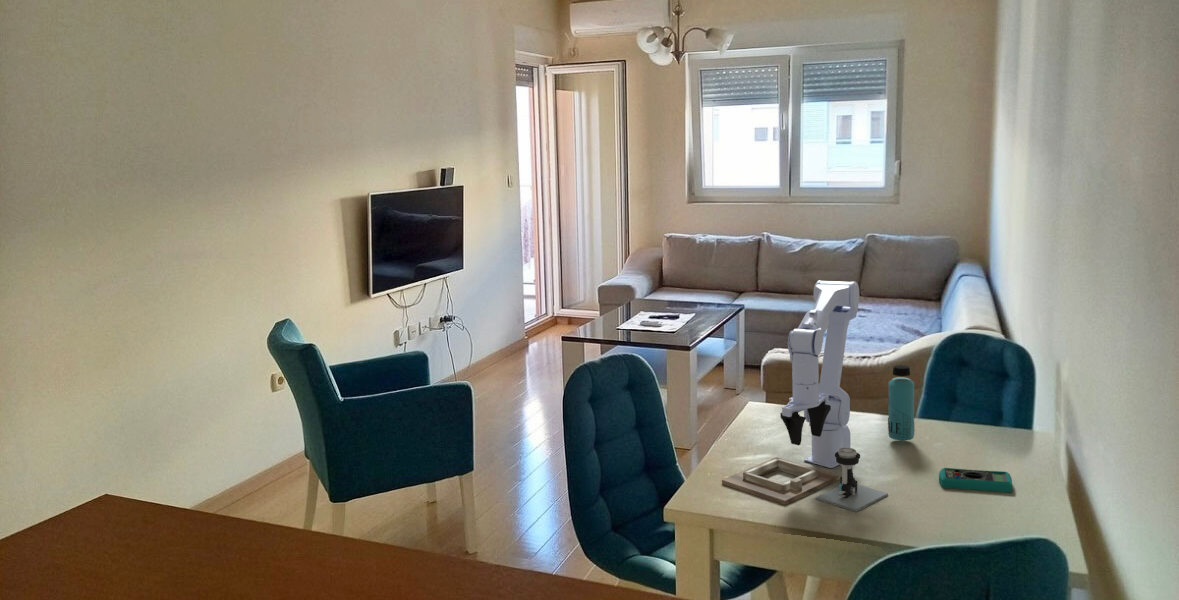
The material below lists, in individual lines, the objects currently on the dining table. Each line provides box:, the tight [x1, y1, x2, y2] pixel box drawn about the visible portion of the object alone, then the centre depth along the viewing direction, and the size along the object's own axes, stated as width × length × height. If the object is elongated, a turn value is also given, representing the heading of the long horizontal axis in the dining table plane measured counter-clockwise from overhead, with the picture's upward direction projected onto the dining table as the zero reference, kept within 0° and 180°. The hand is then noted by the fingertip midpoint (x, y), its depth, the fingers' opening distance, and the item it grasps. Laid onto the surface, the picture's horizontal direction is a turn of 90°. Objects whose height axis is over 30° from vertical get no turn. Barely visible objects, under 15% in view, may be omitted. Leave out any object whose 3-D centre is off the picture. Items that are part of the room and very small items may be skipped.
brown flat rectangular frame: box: [721, 456, 841, 506], centre depth 210 cm, size 20×18×3 cm
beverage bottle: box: [887, 364, 916, 442], centre depth 230 cm, size 6×7×20 cm
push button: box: [835, 447, 861, 498], centre depth 198 cm, size 7×5×10 cm
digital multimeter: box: [938, 467, 1013, 494], centre depth 203 cm, size 7×15×3 cm, turn 70°
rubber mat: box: [816, 483, 889, 513], centre depth 199 cm, size 12×10×1 cm
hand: (806, 439), depth 206 cm, fingers open, 7 cm apart
